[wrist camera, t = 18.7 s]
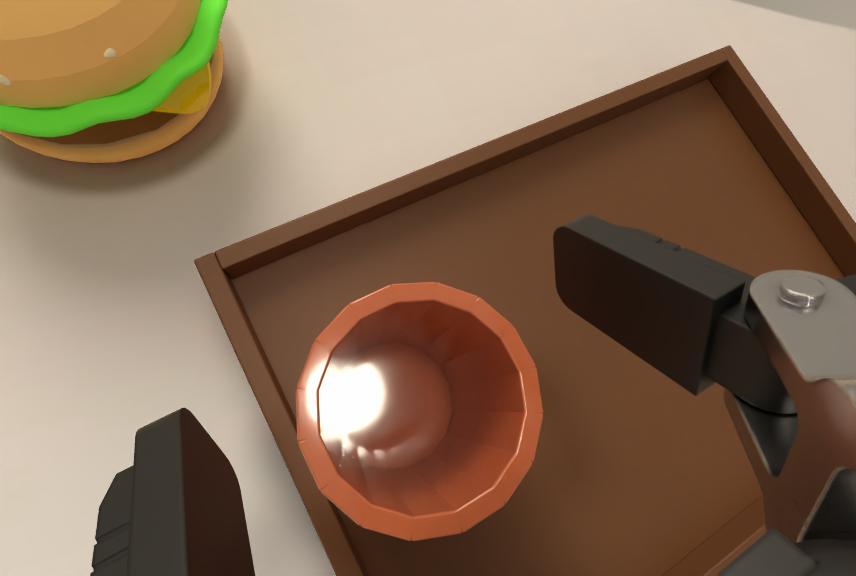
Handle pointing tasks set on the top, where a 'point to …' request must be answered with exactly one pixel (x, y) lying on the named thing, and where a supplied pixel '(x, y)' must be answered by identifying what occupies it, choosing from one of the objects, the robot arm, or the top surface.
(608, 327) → the robot arm
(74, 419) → the top surface
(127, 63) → the hamburger
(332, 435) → the reddish brown cup
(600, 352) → the tray
